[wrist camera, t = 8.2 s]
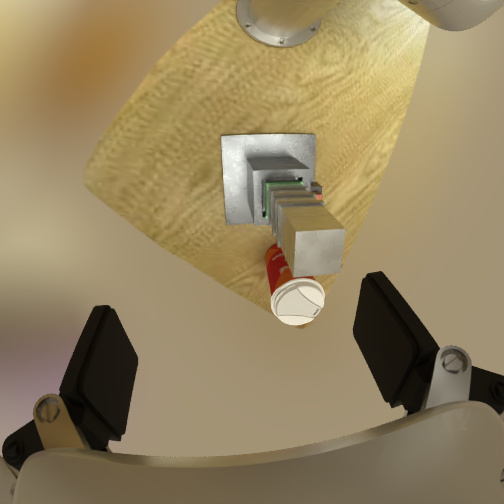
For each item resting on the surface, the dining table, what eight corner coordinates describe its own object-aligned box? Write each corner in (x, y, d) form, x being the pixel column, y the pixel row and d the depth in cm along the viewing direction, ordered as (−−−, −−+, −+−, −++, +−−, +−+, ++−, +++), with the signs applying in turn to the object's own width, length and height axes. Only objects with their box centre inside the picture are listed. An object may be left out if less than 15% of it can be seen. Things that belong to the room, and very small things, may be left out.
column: (260, 173, 36) (293, 229, 21) (293, 172, 37) (348, 226, 21) (260, 205, 38) (290, 279, 23) (292, 203, 39) (341, 274, 23)
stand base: (221, 135, 39) (221, 143, 29) (313, 134, 40) (341, 143, 31) (226, 222, 46) (228, 255, 36) (310, 217, 47) (333, 248, 37)
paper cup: (310, 246, 50) (337, 294, 37) (288, 280, 52) (307, 333, 40) (271, 229, 47) (290, 275, 35) (250, 266, 50) (261, 319, 38)
